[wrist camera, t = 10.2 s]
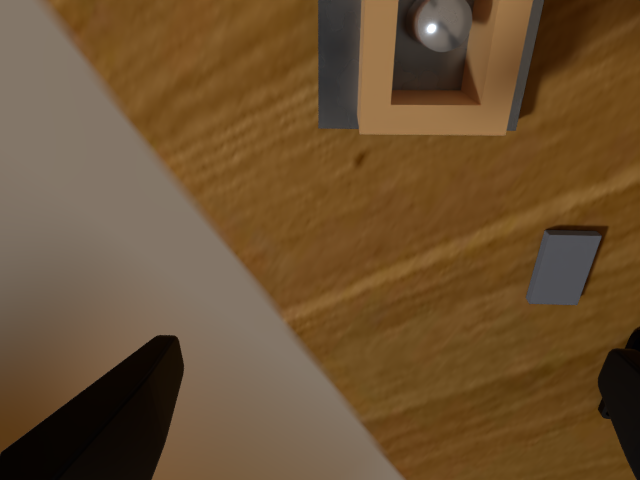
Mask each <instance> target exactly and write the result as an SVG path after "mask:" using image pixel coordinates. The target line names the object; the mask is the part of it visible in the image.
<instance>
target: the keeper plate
mask: <svg viewBox="0 0 640 480" xmlns="http://www.w3.org/2000/svg"><path fill="white" fill-rule="evenodd" d="M361 2H362V0H318V51H319V128H337V129H359V125H358V118H357V108H358V82H359V55H360V29H361ZM543 3H544V0H533V3H532V8H531V13H530V18H529V22H528V27H527V32H526V37H525V42H524V47H523V52H522V57H521V62H520V66H519V71H518V76H517V81H516V86H515V91H514V96H513V101H512V106H511V110H510V115H509V120H508V125H507V130H509V131H516V127H517V122H518V118H519V113H520V108H521V104H522V99H523V95H524V90H525V86H526V81H527V76H528V72H529V67H530V63H531V58H532V54H533V49H534V44H535V40H536V35H537V31H538V26H539V21H540V17H541V12H542V8H543ZM473 5H474V0H398V13H397V26H396V40H395V53H394V67H393V81H392V90H461V86H462V79H463V73H464V66H465V59H466V52H467V45H468V39H469V32H470V29H471V25H472V12H473Z"/></svg>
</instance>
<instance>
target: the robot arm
mask: <svg viewBox="0 0 640 480" xmlns="http://www.w3.org/2000/svg"><path fill="white" fill-rule="evenodd" d="M183 371H184V363H183V358H182V353H181V348H180V344H179V340H178V338H177V337H176V336H173V335H159V336H156V337H154V338H153V339H151V340H150V341H149V342H148V343H146V344H145V345H143V346H142V347H141V348H139V349H138V350H137V351H136V352H134V353H133V354H131V355H130V356H129V357H127V358H126V359H125V360H123V361H122V362H121V363H119V364H118V365H117V366H115V367H114V368H113V369H111V370H110V371H109V372H107V373H106V374H105V375H103V376H102V377H101V378H99V379H98V380H97V381H95V382H94V383H93V384H91V385H90V386H89V387H87V388H86V389H85V390H83V391H82V392H81V393H79V394H78V395H77V396H75V397H74V398H73V399H71V400H70V401H69V402H68V403H66V404H65V405H64V406H62V407H61V408H59V409H58V410H57V411H55V412H54V413H53V414H51V415H50V416H49V417H48V418H46V419H45V420H44V421H42V422H41V423H39V424H38V425H37V426H36V427H34V428H33V429H31V430H30V431H29V432H28V433H26V434H25V435H24V436H22V437H21V438H20V439H18V440H17V441H16V442H14V443H13V444H11V445H10V446H9V447H8V448H6V449H5V450H3V451H2V452H1V454H0V480H151V479H152V477H153V474H154V472H155V469H156V466H157V464H158V461H159V458H160V456H161V453H162V450H163V448H164V445H165V442H166V438H167V435H168V431H169V427H170V423H171V420H172V416H173V412H174V408H175V404H176V400H177V396H178V392H179V389H180V385H181V381H182V377H183ZM598 387H599V390H600V393H601V396H602V400H601V402H600V405H599V407H598V410H599V412H600V414H601V415H602V417H603V418H606V419H611V421H612V424H613V426H614V429H615V431H616V434H617V436H618V439H619V442H620V444H621V447H622V449H623V451H624V454H625V456H626V458H627V461H628V463H629V465H630V467H631V469H632V471H633V473H634V475H635V477H636V479H637V480H640V330H639V331H636V332H634V333H633V334H632V335H631V336H630V338H629V340H628V342H627V345H626V347H625V349H618V348H616V349H612V350H611V351H610V352H609V353H608V355H607V358H606V360H605V362H604V365H603V367H602V369H601V372H600V374H599V377H598Z"/></svg>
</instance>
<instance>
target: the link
mask: <svg viewBox="0 0 640 480" xmlns="http://www.w3.org/2000/svg"><path fill="white" fill-rule="evenodd" d="M532 3H533V0H474V5H473V12H472V25H471V29H470V32H469V39H468V45H467V52H466V59H465V66H464V73H463V79H462V86H461V90H392V81H393V67H394V53H395V40H396V26H397V13H398V0H362V2H361V29H360V55H359V82H358V108H357V118H358V125H359V133H360V134H401V135H506V130H507V125H508V120H509V115H510V110H511V106H512V101H513V96H514V91H515V86H516V81H517V76H518V71H519V66H520V62H521V57H522V52H523V47H524V42H525V37H526V32H527V27H528V22H529V18H530V13H531V8H532Z"/></svg>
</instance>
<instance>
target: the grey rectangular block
mask: <svg viewBox="0 0 640 480" xmlns="http://www.w3.org/2000/svg"><path fill="white" fill-rule="evenodd" d="M601 237H602V236H601V235H600V234H599V233H598V232H597V231H569V230H545V232H544V235H543V239H542V242H541V246H540V250H539V253H538V257H537V260H536V264H535V267H534V271H533V274H532V278H531V281H530V285H529V288H528V292H527V296H526V299H527V300H528V302H529V304H561V305H577V304H578V301H579V299H580V296H581V293H582V290H583V287H584V285H585V282H586V279H587V276H588V273H589V271H590V268H591V265H592V262H593V259H594V257H595V254H596V251H597V248H598V245H599V243H600V240H601Z"/></svg>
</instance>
